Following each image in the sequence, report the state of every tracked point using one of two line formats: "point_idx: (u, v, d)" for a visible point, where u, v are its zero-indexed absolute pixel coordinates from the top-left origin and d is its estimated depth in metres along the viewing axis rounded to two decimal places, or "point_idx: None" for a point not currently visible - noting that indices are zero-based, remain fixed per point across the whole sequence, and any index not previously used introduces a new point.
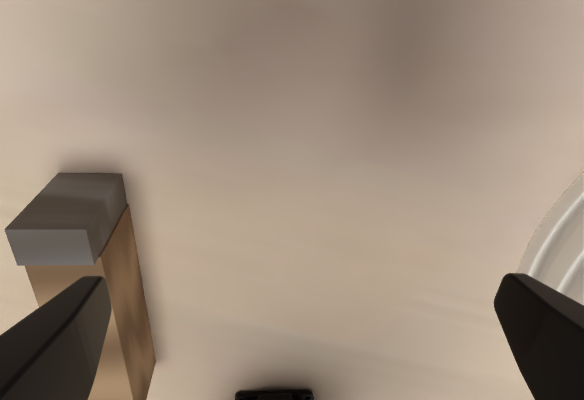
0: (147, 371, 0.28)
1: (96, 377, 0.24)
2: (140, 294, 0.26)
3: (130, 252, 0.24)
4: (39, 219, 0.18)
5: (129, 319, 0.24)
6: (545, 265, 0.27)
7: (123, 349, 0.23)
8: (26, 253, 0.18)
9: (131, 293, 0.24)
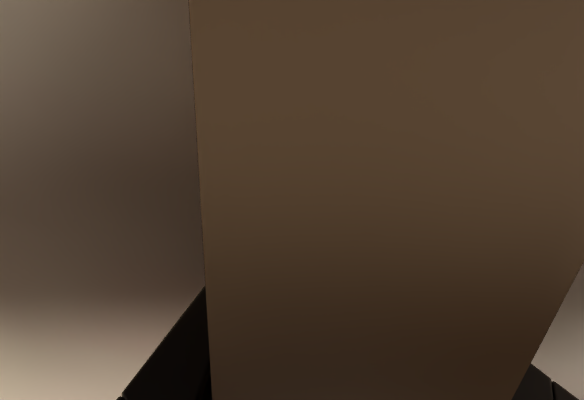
0: None
1: None
2: None
3: None
4: None
5: None
6: None
7: (517, 360, 0.05)
8: None
9: None
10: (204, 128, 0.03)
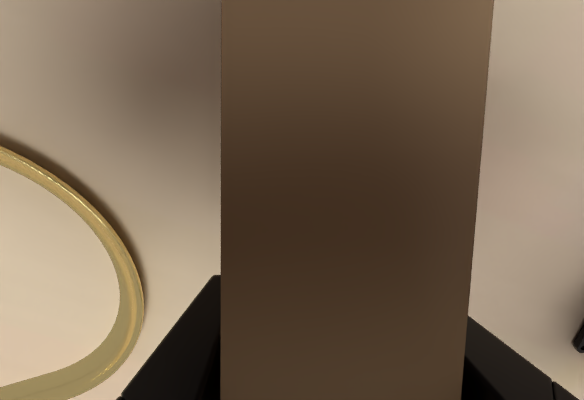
0: None
1: (346, 363, 0.06)
2: None
3: None
4: None
5: None
6: None
7: (470, 214, 0.06)
8: None
9: None
10: None
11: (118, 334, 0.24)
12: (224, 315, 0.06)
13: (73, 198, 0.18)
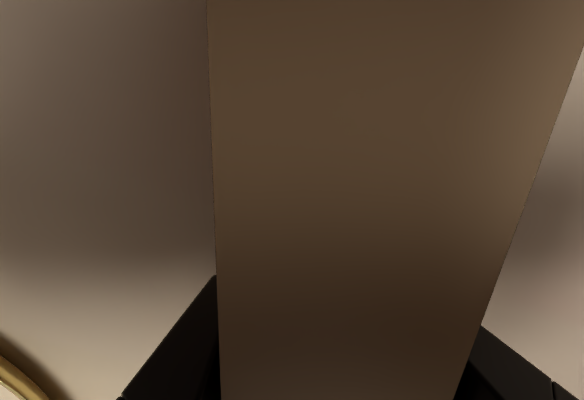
0: None
1: None
2: None
3: None
4: None
5: None
6: None
7: (470, 330, 0.06)
8: None
9: None
10: (217, 141, 0.04)
11: None
12: None
13: None
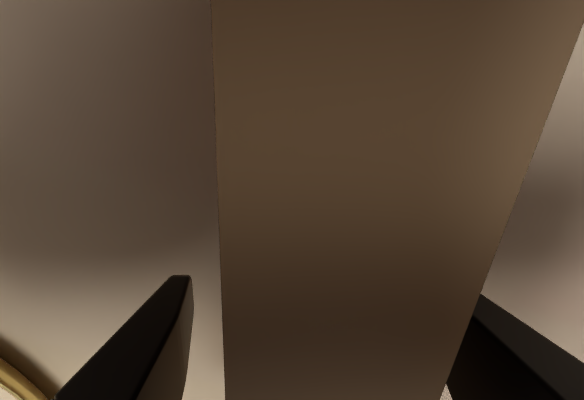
0: None
1: None
2: None
3: None
4: None
5: None
6: None
7: (460, 324, 0.06)
8: None
9: None
10: (222, 152, 0.04)
11: None
12: (228, 399, 0.06)
13: None
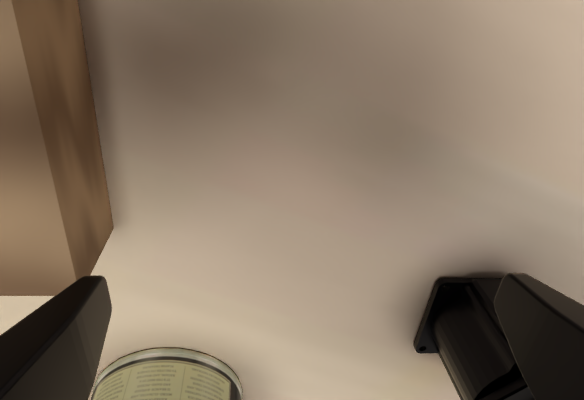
0: (97, 225, 0.19)
1: (1, 188, 0.14)
2: (85, 89, 0.17)
3: None
4: None
5: (61, 99, 0.15)
6: None
7: (44, 130, 0.13)
8: None
9: (66, 62, 0.15)
10: None
11: None
12: None
13: None
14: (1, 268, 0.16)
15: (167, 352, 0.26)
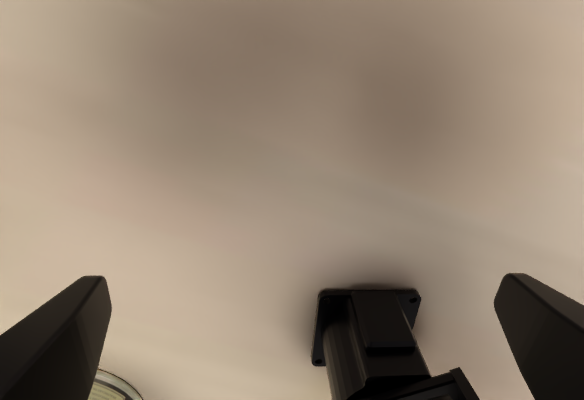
0: None
1: None
2: None
3: None
4: None
5: None
6: None
7: None
8: None
9: None
10: None
11: None
12: None
13: None
14: None
15: None
